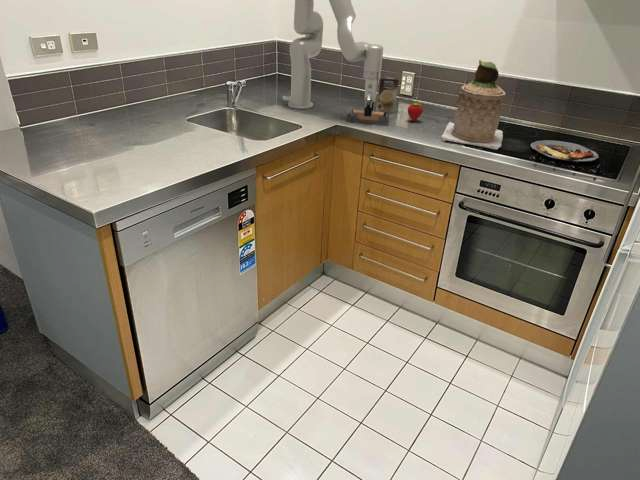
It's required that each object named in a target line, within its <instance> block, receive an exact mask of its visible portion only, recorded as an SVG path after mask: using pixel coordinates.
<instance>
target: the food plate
mask: <svg viewBox="0 0 640 480" xmlns="http://www.w3.org/2000/svg"><path fill="white" fill-rule="evenodd" d="M530 147H531V148H532V149H533V150H535V151H536V152H538V153H539V154H542V155H544V156H546V157H548V158H552V159H555V160H561V161H566V162H575V163H578V162H579V163H580V162H584V163H585V162H590V163H591V162H595V161H596V160H598V159H600V156H599V154H598V153H597V152H596V151H594V150H592V149H590V148H588V147H586V146H583V145H581V144H577V143H573V142H567V141H560V140H550V139H548V140H547V139H544V140H537V141H534V142H531V144H530Z"/></svg>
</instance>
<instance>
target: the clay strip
mask: <svg viewBox="0 0 640 480" xmlns="http://www.w3.org/2000/svg"><path fill="white" fill-rule="evenodd" d="M364 111H365V110H361V109H353V114H357V119H364V120H375V121H378V120H379V116H384V112H377V111H376V110H375V111H374V110H373V111H372V113H371V117H369V116H364Z"/></svg>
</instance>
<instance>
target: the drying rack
mask: <svg viewBox="0 0 640 480" xmlns="http://www.w3.org/2000/svg"><path fill="white" fill-rule="evenodd" d="M353 110H354V109H348V110H347V112H346V120H345V123H353V124H365V125H376V126H386V127H388V126H389V120H390V113H389V112H384V116H379V120H378V121H375V120H364V119H357V114H353Z"/></svg>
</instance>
